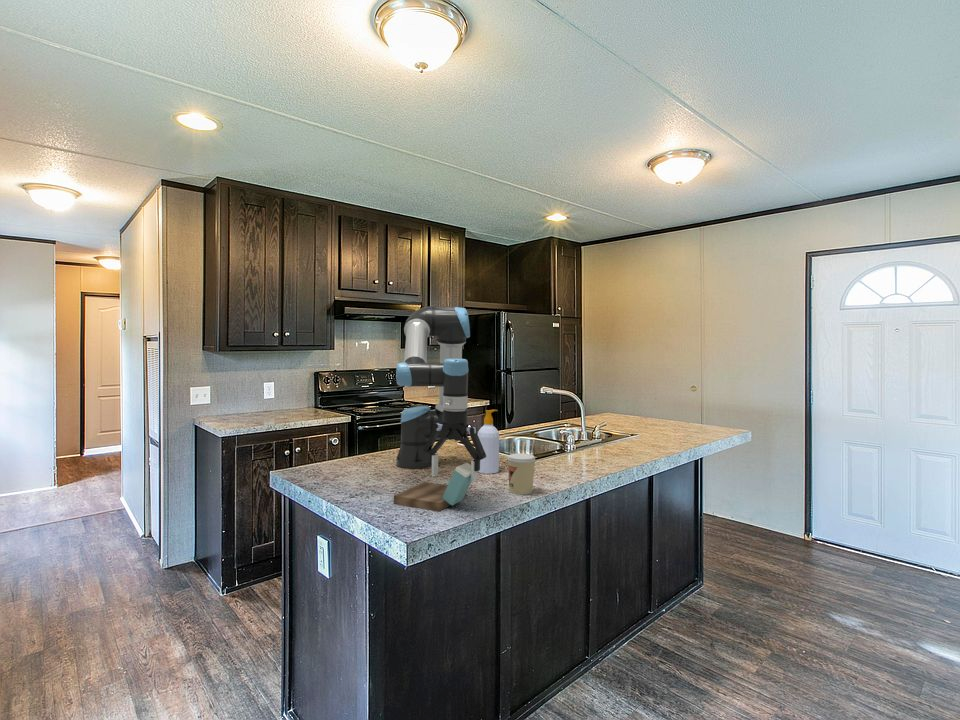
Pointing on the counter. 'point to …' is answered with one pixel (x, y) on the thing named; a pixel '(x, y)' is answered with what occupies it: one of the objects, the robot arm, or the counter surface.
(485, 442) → the soap bottle
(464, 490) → the block
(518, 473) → the white-capped cylinder
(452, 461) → the counter surface
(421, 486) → the board
